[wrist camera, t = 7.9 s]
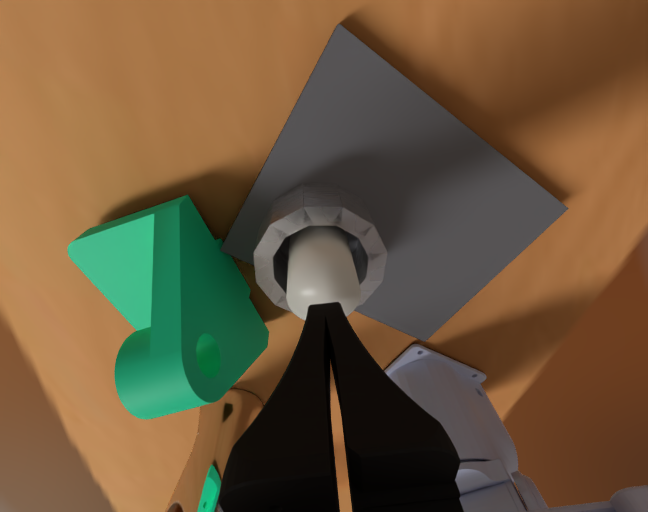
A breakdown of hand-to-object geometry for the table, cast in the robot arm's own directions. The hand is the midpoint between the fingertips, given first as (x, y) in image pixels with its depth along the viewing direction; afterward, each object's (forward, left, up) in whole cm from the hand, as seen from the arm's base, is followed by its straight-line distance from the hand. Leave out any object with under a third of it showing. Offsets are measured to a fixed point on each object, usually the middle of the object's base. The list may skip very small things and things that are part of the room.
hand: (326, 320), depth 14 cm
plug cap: (0, 0, -8) cm, 8 cm away
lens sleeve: (0, 0, -8) cm, 8 cm away
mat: (-4, -3, -9) cm, 10 cm away
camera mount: (+6, +8, -9) cm, 14 cm away
